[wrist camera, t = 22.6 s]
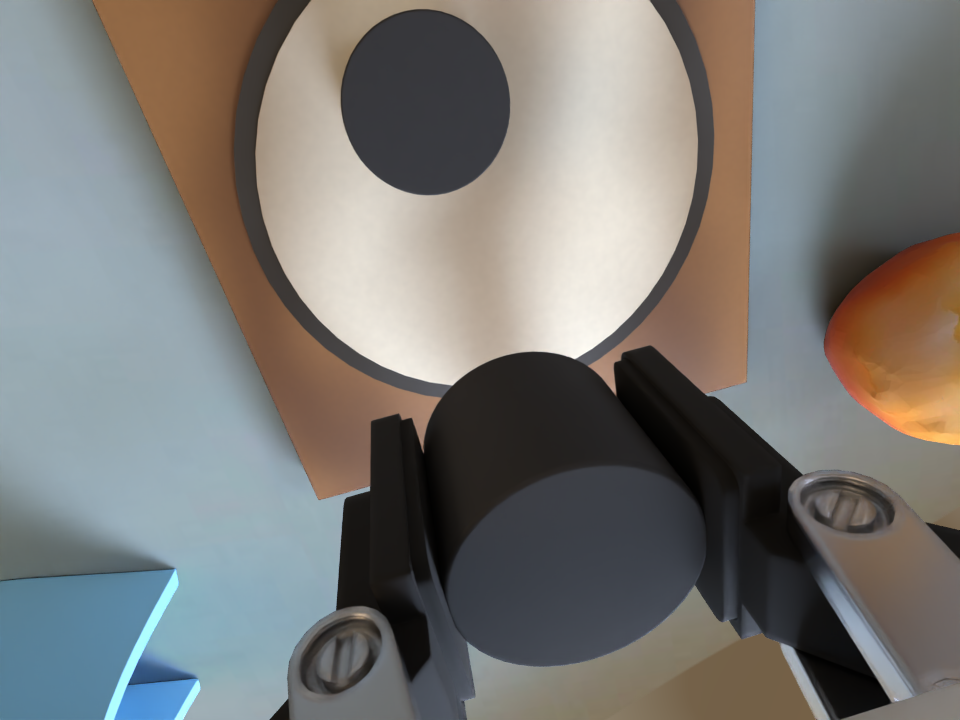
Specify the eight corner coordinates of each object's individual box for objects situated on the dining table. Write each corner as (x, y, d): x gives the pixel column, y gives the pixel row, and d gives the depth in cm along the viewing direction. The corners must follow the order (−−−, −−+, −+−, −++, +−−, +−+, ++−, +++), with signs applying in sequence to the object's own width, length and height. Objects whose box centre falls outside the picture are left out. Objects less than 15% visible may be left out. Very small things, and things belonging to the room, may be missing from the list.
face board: (734, -278, 15) (766, -311, 13) (730, 369, 24) (749, 384, 23) (48, -137, 14) (16, -158, 12) (321, 481, 23) (317, 503, 22)
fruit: (883, 459, 26) (1006, 518, 18) (761, 335, 27) (828, 339, 19) (1041, 341, 24) (1252, 349, 16) (906, 212, 25) (1046, 161, 17)
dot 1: (469, 9, 15) (493, -10, 12) (497, 158, 17) (523, 174, 14) (328, 42, 15) (315, 30, 12) (371, 189, 17) (369, 212, 14)
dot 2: (608, 326, 10) (708, 426, 7) (626, 488, 12) (712, 625, 9) (399, 382, 10) (410, 511, 7) (449, 539, 12) (475, 697, 9)
